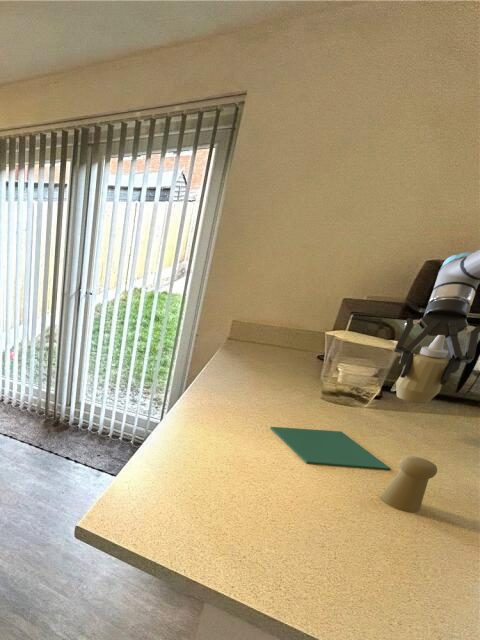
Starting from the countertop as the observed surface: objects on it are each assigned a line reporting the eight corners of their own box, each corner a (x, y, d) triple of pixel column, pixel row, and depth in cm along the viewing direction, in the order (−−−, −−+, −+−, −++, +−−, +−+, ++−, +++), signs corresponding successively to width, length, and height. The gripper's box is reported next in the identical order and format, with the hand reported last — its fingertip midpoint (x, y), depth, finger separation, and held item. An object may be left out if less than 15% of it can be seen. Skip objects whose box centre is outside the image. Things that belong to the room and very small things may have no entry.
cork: (372, 494, 88) (392, 453, 83) (397, 492, 88) (418, 451, 84) (401, 513, 82) (424, 470, 78) (428, 511, 82) (452, 468, 78)
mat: (390, 470, 96) (391, 468, 95) (306, 463, 99) (307, 461, 98) (340, 433, 112) (341, 431, 111) (270, 428, 115) (270, 426, 115)
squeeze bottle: (428, 397, 107) (459, 333, 100) (438, 408, 101) (472, 341, 94) (387, 391, 111) (414, 329, 104) (394, 401, 105) (423, 337, 98)
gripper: (499, 319, 101) (475, 395, 97) (393, 309, 114) (368, 375, 110) (513, 302, 96) (488, 382, 92) (400, 293, 109) (374, 362, 105)
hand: (423, 378), depth 101 cm, fingers closed on squeeze bottle, 6 cm apart
